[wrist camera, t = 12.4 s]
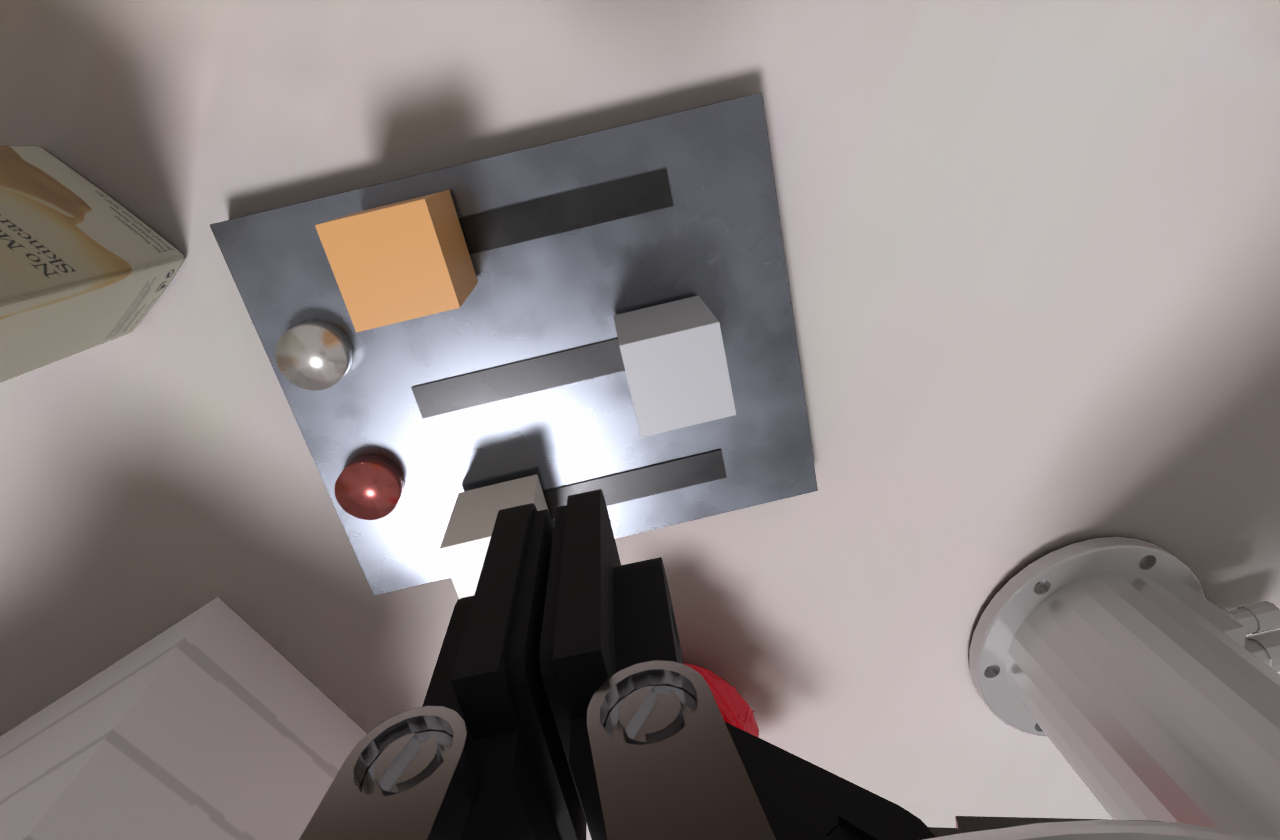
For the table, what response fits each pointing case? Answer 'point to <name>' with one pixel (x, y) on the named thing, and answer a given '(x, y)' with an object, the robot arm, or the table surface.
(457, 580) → the ivory slider
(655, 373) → the grey slider
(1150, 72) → the table surface
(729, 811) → the robot arm
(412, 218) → the orange slider
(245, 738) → the pizza boxes
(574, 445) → the panel
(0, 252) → the skincare box
